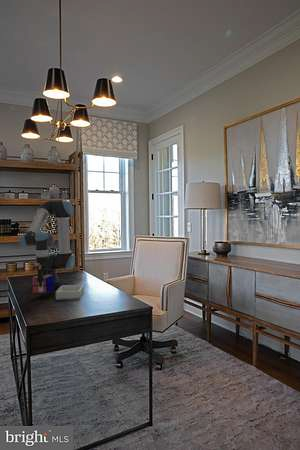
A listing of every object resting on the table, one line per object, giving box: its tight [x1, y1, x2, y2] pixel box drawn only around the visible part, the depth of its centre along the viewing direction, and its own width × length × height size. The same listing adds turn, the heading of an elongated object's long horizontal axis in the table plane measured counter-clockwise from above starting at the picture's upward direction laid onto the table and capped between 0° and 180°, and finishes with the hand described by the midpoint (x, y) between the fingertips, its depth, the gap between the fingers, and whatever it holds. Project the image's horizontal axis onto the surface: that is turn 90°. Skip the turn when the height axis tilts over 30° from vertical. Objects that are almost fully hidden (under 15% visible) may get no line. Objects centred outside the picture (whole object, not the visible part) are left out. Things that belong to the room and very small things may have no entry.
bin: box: [55, 284, 85, 301], centre depth 218 cm, size 19×15×5 cm
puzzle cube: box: [31, 275, 55, 294], centre depth 217 cm, size 10×10×10 cm
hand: (43, 289), depth 217 cm, fingers closed on puzzle cube, 11 cm apart
